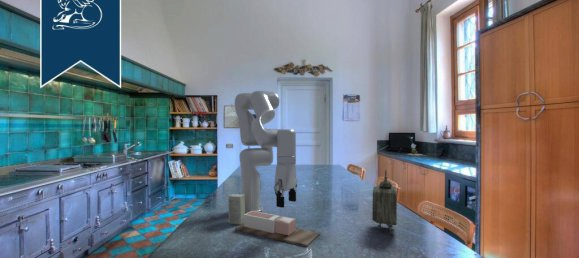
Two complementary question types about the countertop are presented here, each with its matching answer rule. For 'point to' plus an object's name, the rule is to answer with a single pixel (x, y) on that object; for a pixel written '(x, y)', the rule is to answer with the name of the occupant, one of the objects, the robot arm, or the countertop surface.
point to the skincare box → (236, 208)
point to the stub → (285, 225)
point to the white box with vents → (260, 221)
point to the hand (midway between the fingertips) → (286, 204)
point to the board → (296, 237)
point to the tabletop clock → (385, 204)
